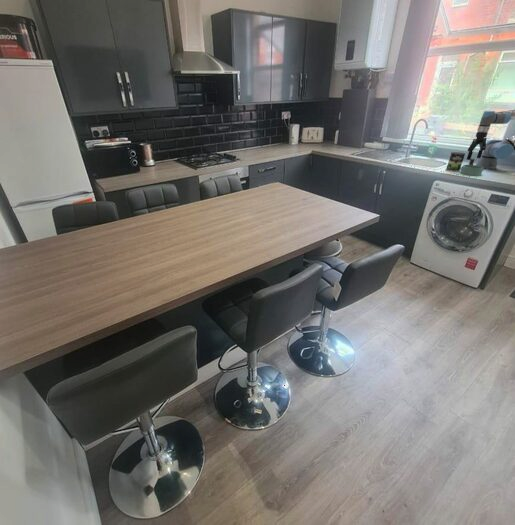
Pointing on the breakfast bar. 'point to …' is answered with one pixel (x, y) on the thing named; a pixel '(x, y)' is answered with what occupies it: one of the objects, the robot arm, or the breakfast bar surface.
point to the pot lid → (470, 162)
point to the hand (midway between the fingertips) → (473, 158)
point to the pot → (472, 170)
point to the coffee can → (455, 161)
